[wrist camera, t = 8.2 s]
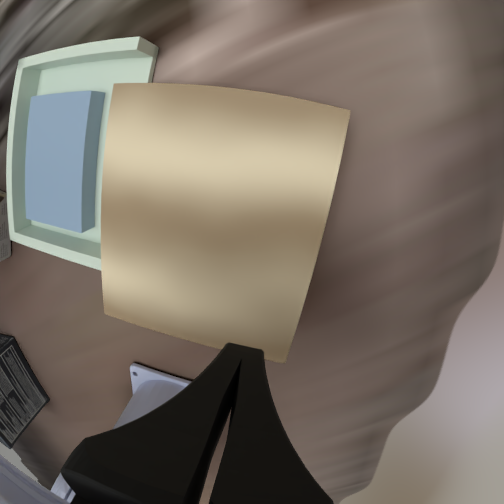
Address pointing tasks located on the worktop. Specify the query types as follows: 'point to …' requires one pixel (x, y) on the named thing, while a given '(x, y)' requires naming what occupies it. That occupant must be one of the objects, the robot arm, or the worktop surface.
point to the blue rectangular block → (63, 159)
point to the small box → (17, 392)
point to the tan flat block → (215, 210)
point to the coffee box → (4, 228)
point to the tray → (99, 79)
